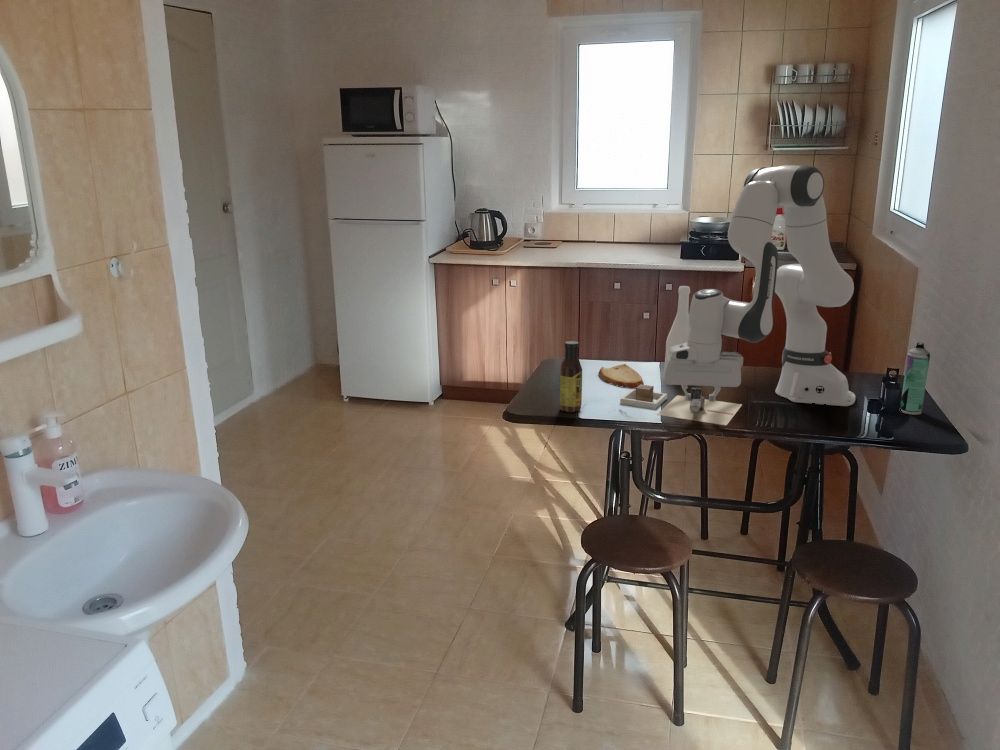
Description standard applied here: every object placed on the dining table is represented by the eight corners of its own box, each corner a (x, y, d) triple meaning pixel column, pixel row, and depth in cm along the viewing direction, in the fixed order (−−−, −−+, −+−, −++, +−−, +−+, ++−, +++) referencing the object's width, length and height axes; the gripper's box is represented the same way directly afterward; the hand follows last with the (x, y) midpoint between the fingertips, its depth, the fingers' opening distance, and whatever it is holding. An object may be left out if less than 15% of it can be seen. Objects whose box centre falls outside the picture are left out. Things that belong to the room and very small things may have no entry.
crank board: (741, 409, 219) (742, 404, 218) (726, 430, 202) (726, 424, 201) (676, 400, 227) (677, 394, 227) (656, 419, 211) (656, 414, 210)
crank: (690, 404, 217) (691, 378, 215) (704, 406, 216) (706, 379, 214) (686, 417, 207) (688, 389, 204) (701, 418, 205) (703, 391, 203)
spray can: (920, 410, 217) (931, 341, 212) (922, 415, 212) (932, 346, 207) (899, 407, 219) (908, 340, 214) (900, 413, 214) (910, 344, 209)
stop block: (639, 400, 225) (640, 384, 223) (652, 402, 223) (653, 386, 221) (635, 404, 221) (635, 387, 220) (648, 406, 219) (649, 389, 218)
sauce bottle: (580, 414, 216) (581, 345, 210) (558, 412, 217) (559, 344, 211) (582, 406, 222) (584, 340, 216) (561, 405, 223) (562, 339, 218)
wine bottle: (688, 372, 256) (694, 284, 248) (697, 380, 247) (703, 288, 239) (661, 373, 256) (665, 284, 248) (668, 381, 247) (674, 289, 238)
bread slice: (641, 390, 238) (641, 379, 237) (586, 383, 246) (587, 372, 245) (656, 376, 254) (657, 365, 253) (605, 370, 261) (605, 359, 260)
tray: (666, 403, 224) (667, 393, 223) (655, 413, 215) (656, 403, 214) (632, 398, 229) (632, 389, 228) (620, 408, 220) (620, 398, 219)
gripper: (741, 349, 204) (737, 398, 208) (664, 347, 206) (661, 395, 210) (746, 355, 198) (741, 405, 202) (666, 352, 200) (663, 402, 204)
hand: (699, 400), depth 206 cm, fingers open, 5 cm apart
